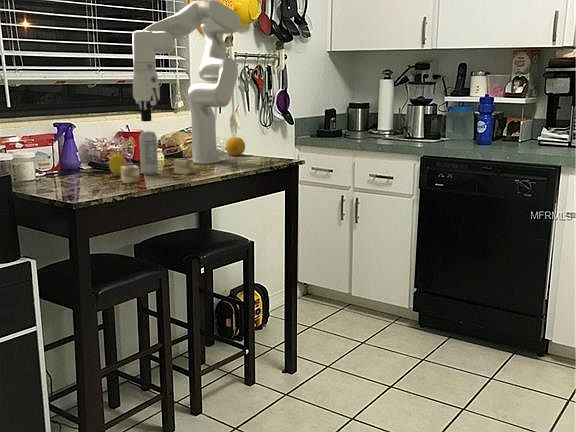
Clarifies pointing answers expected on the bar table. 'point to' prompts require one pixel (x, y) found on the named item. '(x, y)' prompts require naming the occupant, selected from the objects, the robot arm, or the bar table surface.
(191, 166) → the maple block
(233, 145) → the fruit
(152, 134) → the energy drink can
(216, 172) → the bar table surface
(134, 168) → the maple block
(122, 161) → the lemon
